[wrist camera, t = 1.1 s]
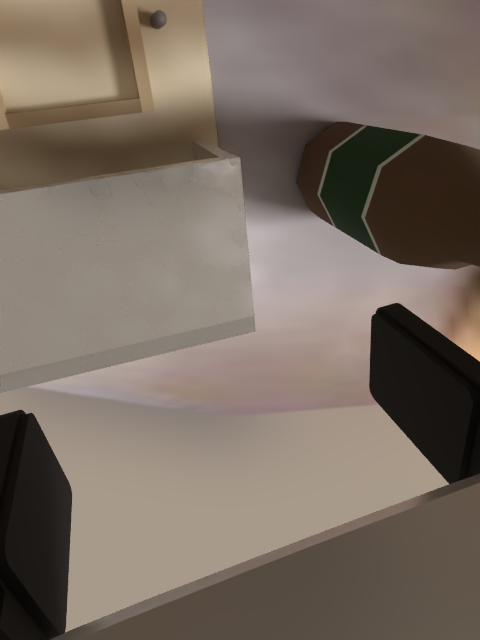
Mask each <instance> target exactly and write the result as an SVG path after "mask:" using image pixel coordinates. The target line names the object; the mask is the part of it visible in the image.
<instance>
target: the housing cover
mask: <svg viewBox="0 0 480 640" xmlns="http://www.w3.org/2000/svg"><path fill="white" fill-rule="evenodd" d="M192 146H193V153H194V160H195V161H190V162H184V163H177V164H171V165H164V166H157V167H151V168H144V169H138V170H131V171H124V172H118V173H111V174H105V175H98V176H91V177H85V178H78V179H72V180H65V181H58V182H52V183H45V184H39V185H32V186H25V187H19V188H12V189H6V190H0V393H2V392H6V391H10V390H14V389H19V388H23V387H27V386H31V385H35V384H39V383H44V382H48V381H52V380H56V379H60V378H64V377H68V376H73V375H77V374H81V373H85V372H89V371H93V370H97V369H102V368H106V367H110V366H114V365H118V364H122V363H126V362H131V361H135V360H139V359H143V358H147V357H151V356H156V355H160V354H164V353H168V352H172V351H176V350H180V349H185V348H189V347H193V346H197V345H201V344H205V343H209V342H214V341H218V340H222V339H226V338H230V337H234V336H238V335H243V334H247V333H251V332H255V320H254V309H253V297H252V286H251V275H250V263H249V252H248V240H247V229H246V218H245V206H244V195H243V183H242V172H241V161H240V157H238V156H237V155H232V154H230V153H229V152H227V151H225V150H223V149H221V148H219V147H217V146H215V145H213V144H211V143H209V142H208V141H206V140H204V139H200V140H193V141H192Z"/></svg>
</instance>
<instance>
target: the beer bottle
mask: <svg viewBox="0 0 480 640" xmlns="http://www.w3.org/2000/svg"><path fill="white" fill-rule="evenodd" d="M296 183H297V185H298V187H299V189H300V190H301V192H302V194H303V196H304V198H305V200H306V202H307V204H308V205H309V207H310V209H311V211H312V212H313V213H314V214H316V215H317V216H318V217H320V218H321V219H323V220H324V221H326V222H328V223H329V224H331V225H332V226H334V227H336V228H337V229H339V230H341V231H342V232H344V233H346V234H347V235H349V236H351V237H352V238H354V239H355V240H357V241H359V242H360V243H362V244H364V245H365V246H367V247H369V248H370V249H372V250H374V251H375V252H377V253H379V254H380V255H382V256H384V257H386V258H389V259H391V260H393V261H395V262H397V263H400V264H407V265H415V266H423V267H432V268H442V269H459V268H462V267H465V266H469V265H476V266H480V150H479V149H475V148H472V147H469V146H465V145H461V144H458V143H454V142H450V141H446V140H442V139H438V138H434V137H430V136H426V135H421V134H415V133H409V132H403V131H397V130H391V129H385V128H379V127H373V126H367V125H361V124H355V123H349V122H336V123H334V124H333V125H332V126H330V127H329V128H328V129H326V130H325V131H324V132H322V133H321V134H320V135H318V136H317V137H316V138H314V139H313V140H312V141H310V142H309V143H308V144H306V146H305V150H304V154H303V158H302V162H301V166H300V170H299V174H298V177H297V181H296Z"/></svg>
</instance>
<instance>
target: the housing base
mask: <svg viewBox="0 0 480 640" xmlns="http://www.w3.org/2000/svg"><path fill="white" fill-rule="evenodd" d="M200 139H204V140H206V141H208V142H209V143H211V144H213V145H215V146H217V147H218V139H217V130H216V121H215V112H214V103H213V94H212V84H211V75H210V66H209V57H208V48H207V39H206V30H205V21H204V12H203V3H202V0H0V190H6V189H12V188H19V187H25V186H32V185H39V184H45V183H52V182H58V181H65V180H72V179H78V178H85V177H91V176H98V175H105V174H111V173H118V172H124V171H131V170H138V169H144V168H151V167H157V166H164V165H171V164H177V163H184V162H190V161H195V160H194V153H193V146H192V141H193V140H200Z"/></svg>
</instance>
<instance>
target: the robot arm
mask: <svg viewBox="0 0 480 640" xmlns="http://www.w3.org/2000/svg"><path fill="white" fill-rule="evenodd" d="M369 387H370V392H371V395H372V396H373V398H374V399H375V400H376V402H377V403H378V404H379V405H380V406H381V407H382V408H383V410H384V411H385V412H386V413H387V414H388V415H389V416H390V417H391V419H392V420H393V421H394V422H395V423H396V424H397V425H398V427H399V428H400V429H401V430H402V431H403V432H404V433H405V434H406V436H407V437H408V438H409V439H410V440H411V441H412V442H413V443H414V444H415V446H416V447H417V448H418V449H419V450H420V451H421V453H422V454H423V455H424V456H425V457H426V458H427V459H428V460H429V461H430V463H431V464H432V465H433V466H434V467H435V468H436V469H437V471H438V472H439V473H440V474H441V475H442V476H443V477H444V479H446V481H447V482H448V483H449V485H446V486H444V487H441V488H438V489H436V490H433V491H430V492H428V493H425V494H422V495H420V496H417V497H415V498H412V499H409V500H407V501H404V502H401V503H398V504H396V505H393V506H390V507H387V508H385V509H382V510H379V511H377V512H374V513H371V514H369V515H366V516H363V517H361V518H358V519H356V520H353V521H350V522H348V523H345V524H342V525H340V526H337V527H334V528H332V529H329V530H326V531H324V532H321V533H319V534H316V535H313V536H311V537H308V538H306V539H303V540H300V541H298V542H295V543H292V544H290V545H287V546H284V547H282V548H279V549H277V550H274V551H271V552H269V553H266V554H263V555H261V556H258V557H256V558H253V559H250V560H248V561H245V562H242V563H240V564H237V565H235V566H232V567H230V568H227V569H224V570H222V571H219V572H217V573H214V574H212V575H209V576H206V577H204V578H201V579H198V580H196V581H194V582H191V583H188V584H186V585H183V586H181V587H178V588H175V589H173V590H170V591H167V592H165V593H162V594H160V595H157V596H155V597H152V598H150V599H147V600H144V601H142V602H139V603H137V604H134V605H132V606H129V607H127V608H125V609H122V610H120V611H117V612H115V613H112V614H110V615H107V616H105V617H102V618H100V619H97V620H95V621H92V622H90V623H87V624H85V625H82V626H80V627H77V628H75V629H73V630H70V631H68V632H66V633H65V629H66V613H67V592H68V572H69V550H70V530H71V508H72V491H71V487H70V484H69V481H68V480H67V478H66V476H65V474H64V472H63V470H62V468H61V466H60V464H59V462H58V460H57V458H56V456H55V454H54V452H53V451H52V449H51V447H50V445H49V443H48V441H47V439H46V437H45V435H44V433H43V431H42V430H41V427H40V425H39V424H38V422H37V420H36V418H35V416H34V414H32V413H29V414H26V413H25V412H24V411H23V410H18V411H14V412H11V413H7V414H4V415H0V640H480V362H479V361H478V360H477V359H475V358H474V357H473V356H471V355H470V354H468V353H467V352H466V351H464V350H463V349H462V348H460V347H459V346H457V345H456V344H455V343H453V342H452V341H451V340H449V339H448V338H446V337H445V336H444V335H442V334H441V333H440V332H438V331H437V330H435V329H434V328H433V327H431V326H430V325H429V324H427V323H426V322H424V321H423V320H422V319H420V318H419V317H417V316H416V315H415V314H413V313H412V312H411V311H409V310H408V309H406V308H405V307H404V306H402V305H401V304H399V303H394V304H391V305H387V306H384V307H380V308H378V309H377V311H376V314H374V315H373V316H372V319H371V350H370V383H369Z"/></svg>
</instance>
